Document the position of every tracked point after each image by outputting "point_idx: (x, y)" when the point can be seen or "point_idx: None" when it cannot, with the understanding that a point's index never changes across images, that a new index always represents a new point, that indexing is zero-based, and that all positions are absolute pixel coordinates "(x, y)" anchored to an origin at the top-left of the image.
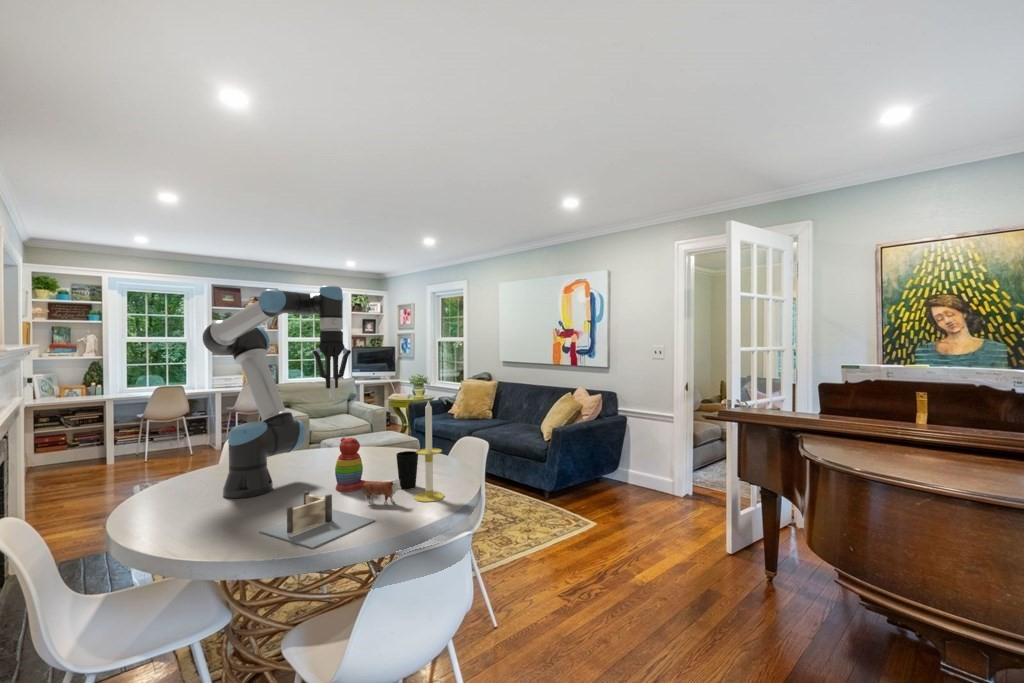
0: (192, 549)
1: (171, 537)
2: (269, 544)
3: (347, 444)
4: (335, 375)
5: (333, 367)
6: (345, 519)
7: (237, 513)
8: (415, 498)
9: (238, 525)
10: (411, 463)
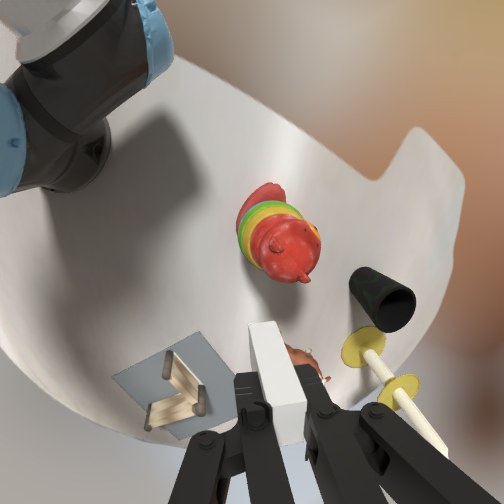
0: (54, 382)
1: (18, 333)
2: (132, 412)
3: (279, 281)
4: (316, 462)
5: (335, 497)
6: (223, 392)
7: (65, 281)
8: (343, 351)
9: (79, 337)
10: (385, 322)
